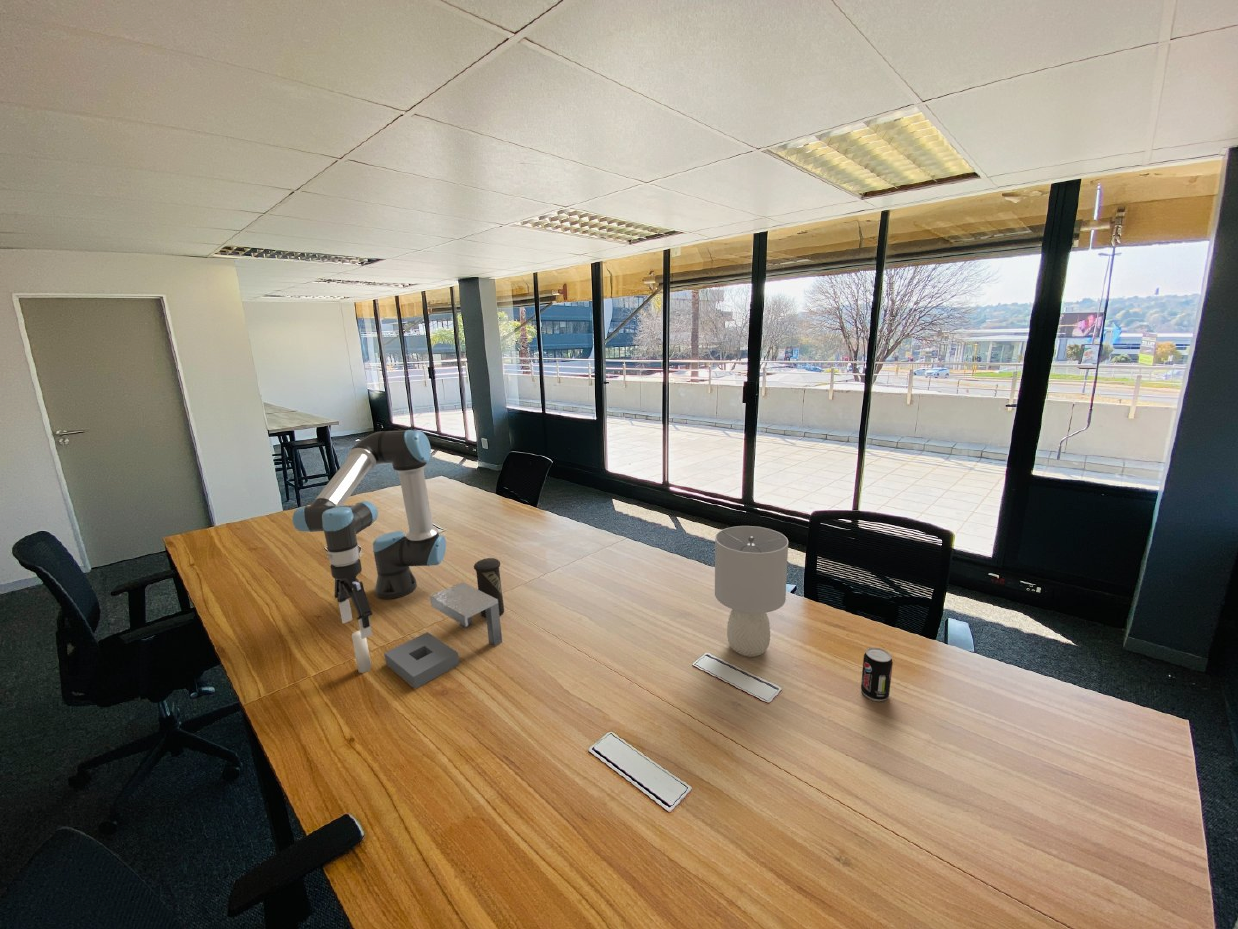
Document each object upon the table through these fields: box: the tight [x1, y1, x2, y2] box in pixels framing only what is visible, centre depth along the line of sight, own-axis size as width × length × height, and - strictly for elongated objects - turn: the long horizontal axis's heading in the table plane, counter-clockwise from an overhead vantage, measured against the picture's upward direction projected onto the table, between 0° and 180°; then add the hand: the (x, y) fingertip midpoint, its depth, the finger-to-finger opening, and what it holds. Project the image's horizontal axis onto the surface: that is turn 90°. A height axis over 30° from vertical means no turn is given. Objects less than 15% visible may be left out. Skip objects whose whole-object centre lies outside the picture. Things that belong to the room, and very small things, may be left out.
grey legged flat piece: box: [429, 581, 503, 647], centre depth 159 cm, size 20×12×15 cm, turn 50°
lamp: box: [714, 525, 789, 658], centre depth 146 cm, size 20×20×37 cm
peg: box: [351, 629, 373, 674], centre depth 147 cm, size 4×4×12 cm
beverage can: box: [860, 647, 894, 702], centre depth 128 cm, size 7×7×12 cm
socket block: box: [383, 631, 460, 690], centre depth 149 cm, size 18×14×4 cm
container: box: [473, 557, 505, 619], centre depth 175 cm, size 9×9×20 cm
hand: (356, 628), depth 144 cm, fingers open, 13 cm apart
